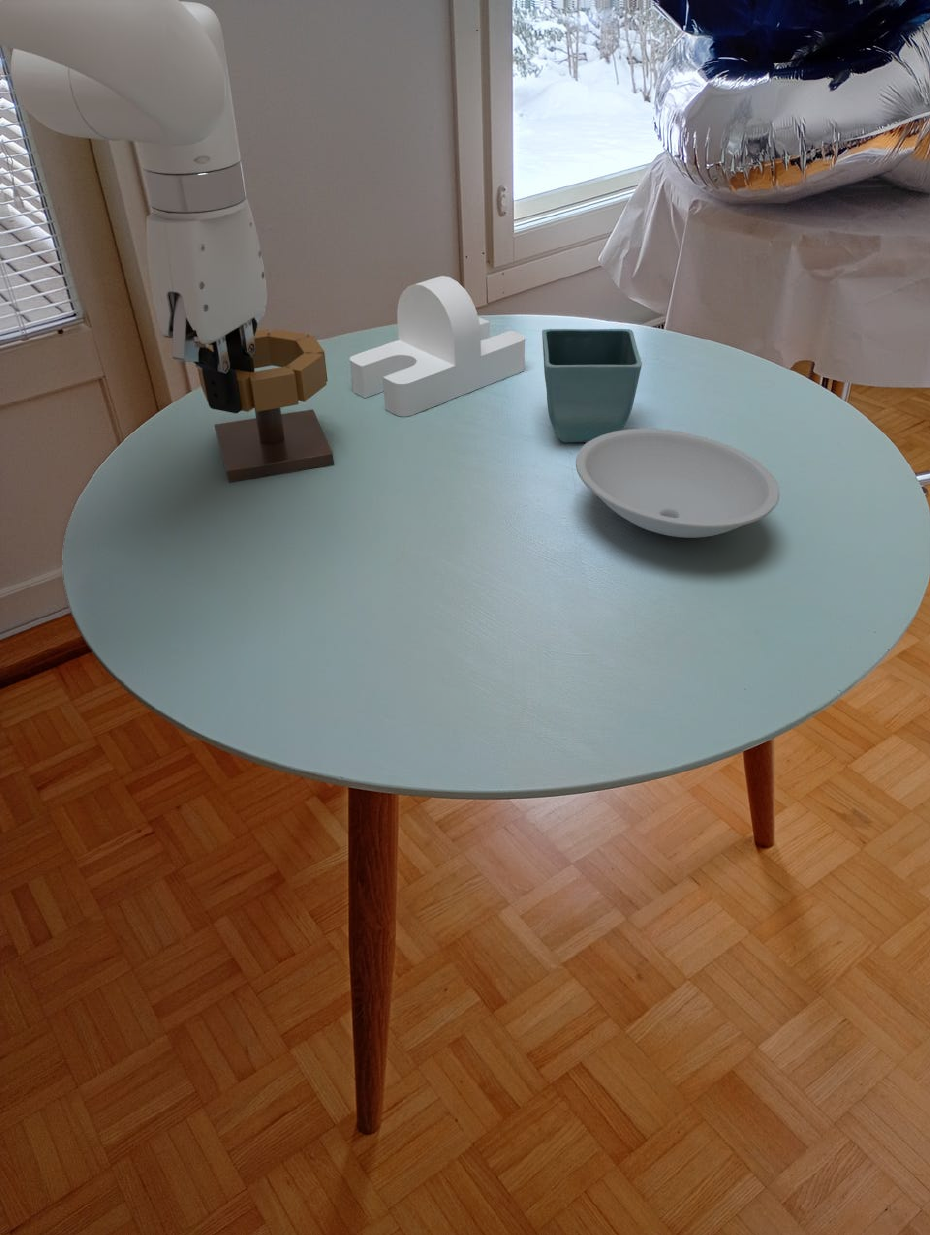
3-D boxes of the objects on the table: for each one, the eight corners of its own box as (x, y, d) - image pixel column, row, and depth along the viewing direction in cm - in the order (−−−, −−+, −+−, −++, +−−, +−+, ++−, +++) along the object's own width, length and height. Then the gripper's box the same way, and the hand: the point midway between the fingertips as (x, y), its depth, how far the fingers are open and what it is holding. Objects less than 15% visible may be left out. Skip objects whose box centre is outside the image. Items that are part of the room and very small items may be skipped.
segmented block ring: (214, 419, 86) (208, 387, 84) (194, 371, 94) (188, 341, 93) (338, 397, 89) (335, 366, 87) (308, 352, 98) (304, 322, 96)
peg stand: (228, 482, 91) (218, 427, 88) (216, 435, 99) (206, 382, 95) (334, 464, 94) (328, 409, 90) (314, 419, 101) (308, 367, 98)
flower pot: (634, 453, 94) (643, 364, 89) (542, 453, 94) (545, 365, 89) (624, 412, 101) (632, 327, 96) (538, 412, 101) (541, 328, 96)
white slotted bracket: (529, 368, 110) (531, 272, 103) (402, 418, 101) (395, 316, 94) (472, 344, 116) (471, 251, 109) (348, 389, 107) (338, 291, 100)
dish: (535, 517, 86) (537, 466, 82) (640, 460, 93) (644, 411, 90) (703, 603, 75) (712, 549, 72) (805, 531, 83) (816, 479, 80)
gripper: (215, 160, 84) (248, 364, 95) (90, 210, 73) (144, 434, 84) (290, 168, 82) (315, 376, 93) (173, 220, 70) (217, 450, 82)
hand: (234, 402), depth 88 cm, fingers closed on segmented block ring, 2 cm apart
